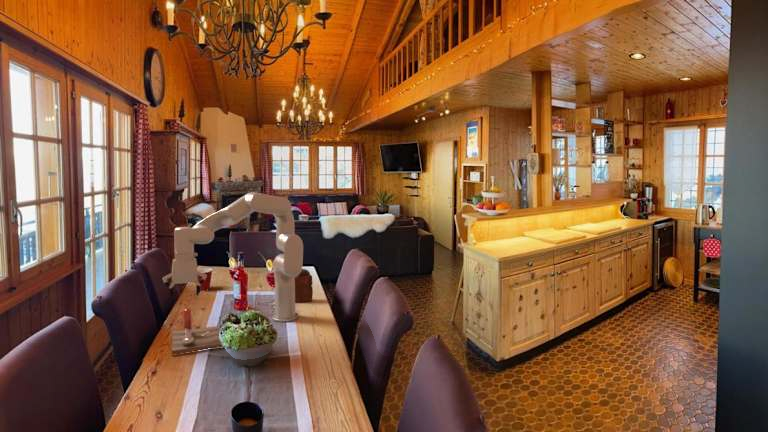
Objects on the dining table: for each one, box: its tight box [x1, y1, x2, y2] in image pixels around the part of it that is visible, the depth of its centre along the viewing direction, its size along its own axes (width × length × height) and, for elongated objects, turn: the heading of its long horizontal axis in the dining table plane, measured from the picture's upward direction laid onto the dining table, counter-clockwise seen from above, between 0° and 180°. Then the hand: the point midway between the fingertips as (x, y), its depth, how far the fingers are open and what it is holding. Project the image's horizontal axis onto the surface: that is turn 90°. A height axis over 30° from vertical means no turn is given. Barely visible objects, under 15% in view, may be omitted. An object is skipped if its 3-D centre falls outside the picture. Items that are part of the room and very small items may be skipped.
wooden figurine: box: [294, 268, 314, 303], centre depth 247 cm, size 12×6×18 cm, turn 105°
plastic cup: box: [198, 267, 214, 291], centre depth 270 cm, size 11×11×12 cm
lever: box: [182, 307, 194, 346], centre depth 187 cm, size 18×4×10 cm, turn 24°
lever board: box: [171, 325, 222, 356], centre depth 190 cm, size 22×19×2 cm
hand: (185, 295), depth 192 cm, fingers open, 9 cm apart
